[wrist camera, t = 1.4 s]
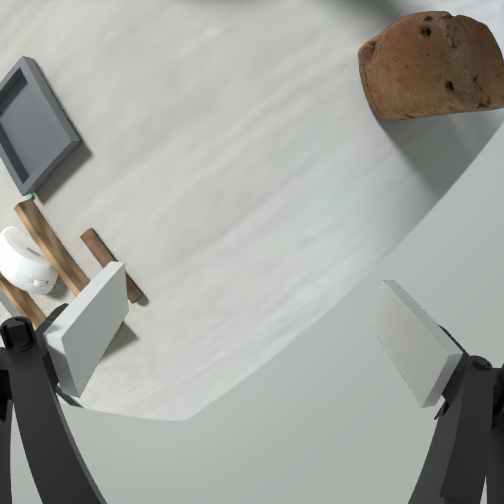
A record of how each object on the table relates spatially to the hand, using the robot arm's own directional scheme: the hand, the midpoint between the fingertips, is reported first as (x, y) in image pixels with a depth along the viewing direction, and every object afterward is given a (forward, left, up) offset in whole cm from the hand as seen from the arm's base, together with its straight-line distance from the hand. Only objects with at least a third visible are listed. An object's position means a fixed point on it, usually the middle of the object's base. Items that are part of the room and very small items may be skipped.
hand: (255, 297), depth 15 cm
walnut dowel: (-3, -20, -25) cm, 32 cm away
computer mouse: (-13, -33, -26) cm, 44 cm away
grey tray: (-28, -19, -25) cm, 42 cm away
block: (-4, +24, -25) cm, 35 cm away
